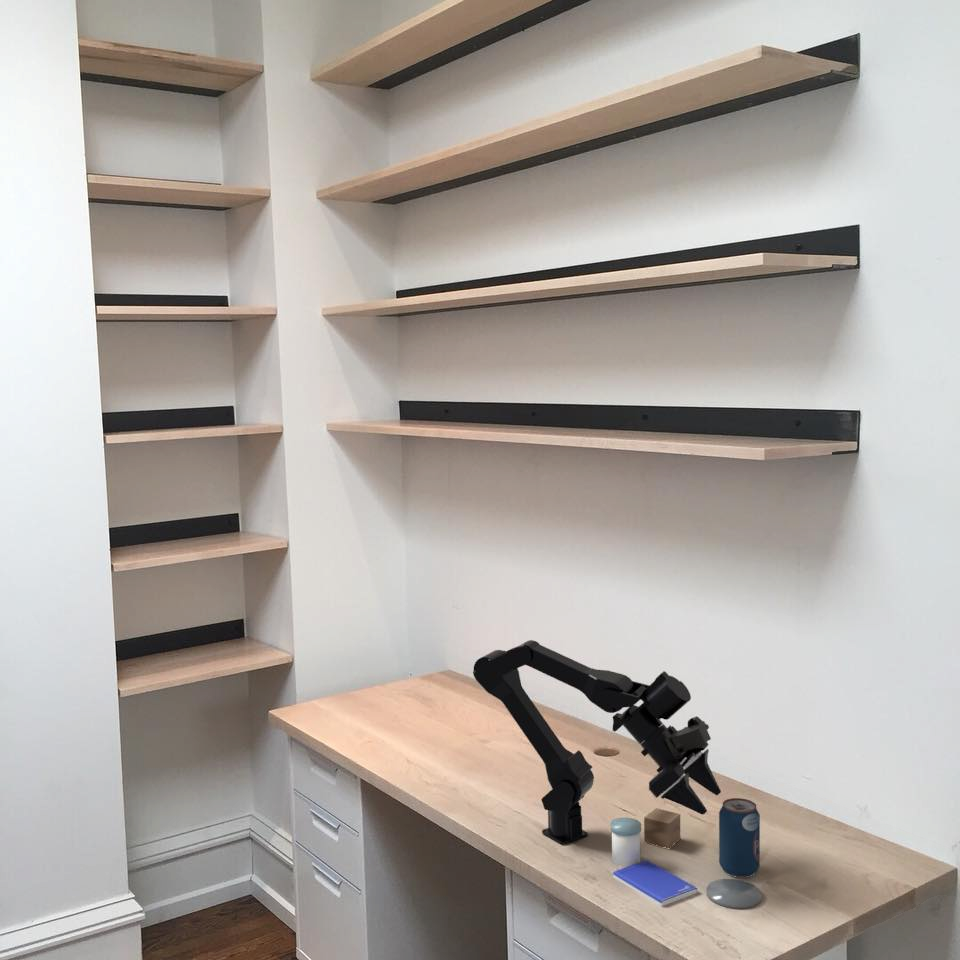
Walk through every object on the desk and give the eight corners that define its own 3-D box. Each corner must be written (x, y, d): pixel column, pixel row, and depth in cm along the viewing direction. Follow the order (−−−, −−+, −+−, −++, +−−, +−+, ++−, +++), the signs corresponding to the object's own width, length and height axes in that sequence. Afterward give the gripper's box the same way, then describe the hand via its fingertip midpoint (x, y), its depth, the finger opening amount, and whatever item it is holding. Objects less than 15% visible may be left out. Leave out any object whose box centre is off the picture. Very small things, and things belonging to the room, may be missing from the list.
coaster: (695, 892, 175) (695, 889, 175) (731, 877, 180) (731, 873, 180) (736, 914, 168) (736, 910, 168) (773, 897, 173) (773, 894, 173)
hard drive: (697, 886, 175) (648, 859, 186) (661, 900, 171) (612, 871, 181) (697, 895, 175) (648, 867, 186) (661, 909, 171) (613, 880, 181)
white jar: (604, 859, 188) (604, 822, 187) (627, 851, 191) (626, 815, 190) (625, 871, 184) (624, 833, 183) (647, 862, 187) (647, 825, 186)
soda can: (765, 878, 180) (765, 811, 179) (726, 880, 179) (726, 813, 178) (751, 860, 187) (751, 795, 185) (713, 862, 186) (713, 797, 185)
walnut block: (644, 843, 194) (644, 817, 194) (656, 833, 199) (656, 808, 198) (668, 849, 192) (668, 823, 191) (680, 839, 196) (680, 814, 195)
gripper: (665, 723, 177) (730, 796, 173) (696, 693, 193) (756, 759, 189) (622, 761, 181) (685, 833, 177) (656, 728, 198) (714, 794, 193)
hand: (712, 803), depth 184 cm, fingers open, 9 cm apart
